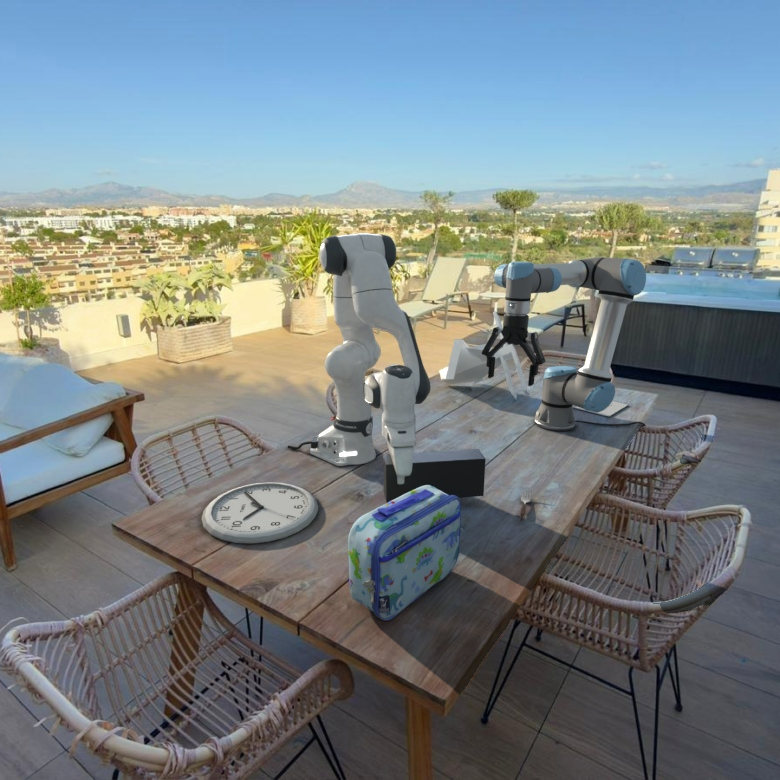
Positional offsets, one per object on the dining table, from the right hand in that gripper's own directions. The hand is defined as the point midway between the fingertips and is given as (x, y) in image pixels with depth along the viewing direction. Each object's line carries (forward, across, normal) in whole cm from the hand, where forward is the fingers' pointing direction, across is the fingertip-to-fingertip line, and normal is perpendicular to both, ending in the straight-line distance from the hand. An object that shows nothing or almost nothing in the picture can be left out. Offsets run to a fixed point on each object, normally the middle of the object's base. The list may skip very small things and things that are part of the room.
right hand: (510, 381), depth 165 cm
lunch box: (+27, +12, -74) cm, 79 cm away
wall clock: (+27, -36, -72) cm, 85 cm away
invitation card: (+27, +10, +76) cm, 82 cm away
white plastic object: (+27, -41, +61) cm, 78 cm away
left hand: (+18, -9, -47) cm, 51 cm away
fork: (+27, +18, -26) cm, 42 cm away
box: (+23, -2, -40) cm, 47 cm away
